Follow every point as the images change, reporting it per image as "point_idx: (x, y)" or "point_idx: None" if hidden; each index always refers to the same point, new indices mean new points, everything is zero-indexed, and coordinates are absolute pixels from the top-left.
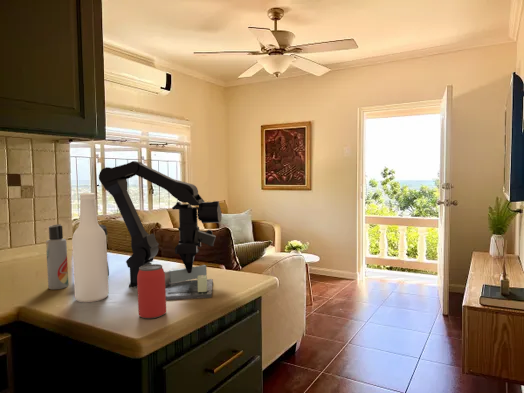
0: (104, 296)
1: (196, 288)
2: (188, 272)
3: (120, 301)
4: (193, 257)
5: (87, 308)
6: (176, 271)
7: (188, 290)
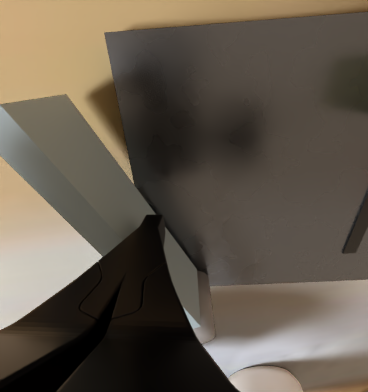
0: (282, 373)
1: (328, 134)
2: (164, 232)
3: (317, 338)
4: (185, 321)
5: (341, 371)
6: (182, 298)
7: (350, 174)
